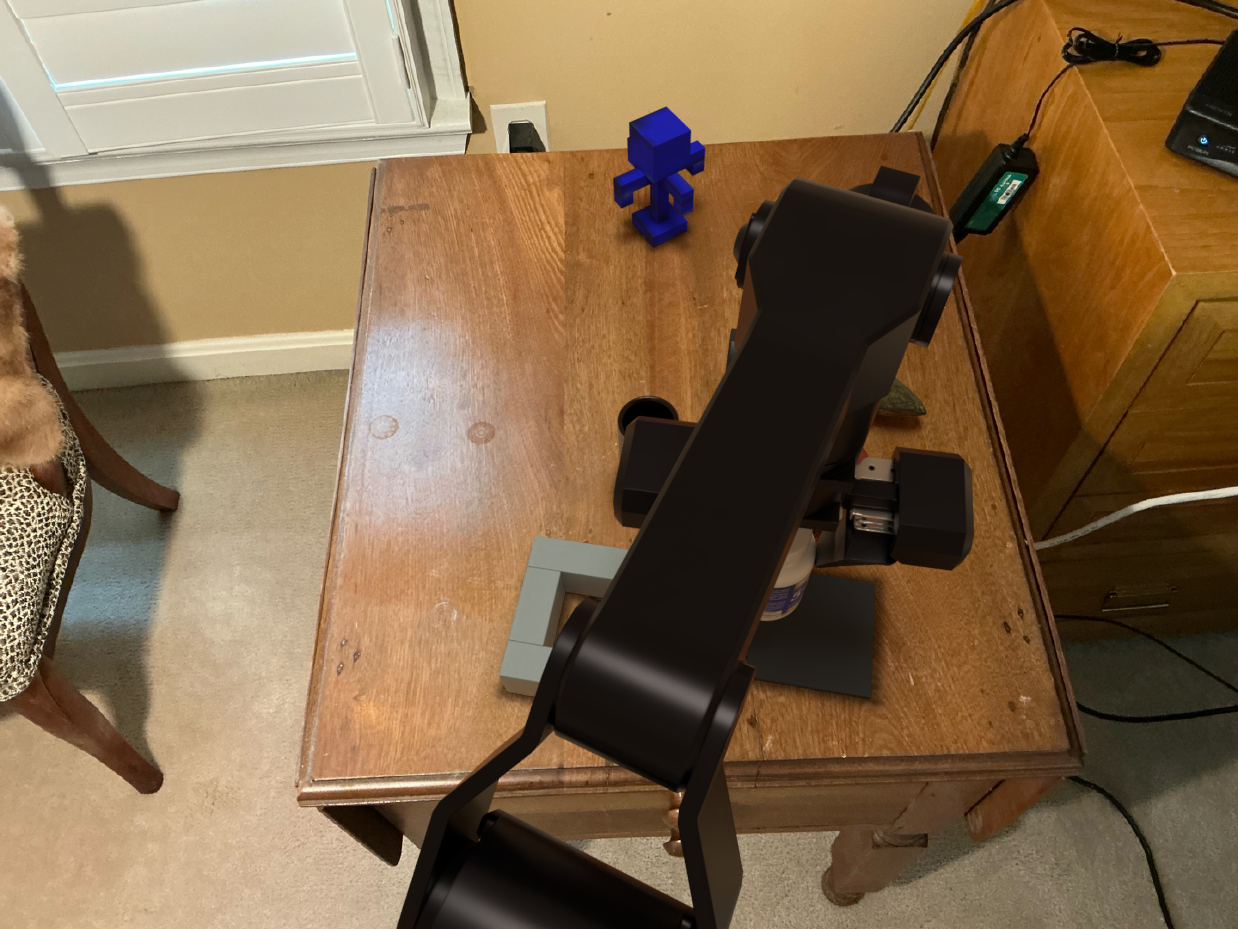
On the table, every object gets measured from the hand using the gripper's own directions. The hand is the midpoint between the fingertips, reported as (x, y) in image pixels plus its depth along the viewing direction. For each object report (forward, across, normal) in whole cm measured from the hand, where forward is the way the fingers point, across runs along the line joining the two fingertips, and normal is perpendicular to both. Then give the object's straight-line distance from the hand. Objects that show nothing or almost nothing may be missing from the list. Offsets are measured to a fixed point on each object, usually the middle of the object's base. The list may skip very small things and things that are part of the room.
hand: (772, 554), depth 55 cm
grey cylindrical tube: (+13, +10, -11) cm, 20 cm away
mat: (+13, -4, 0) cm, 14 cm away
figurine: (+13, +13, -41) cm, 45 cm away
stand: (+13, +12, +2) cm, 18 cm away
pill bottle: (+5, 0, 0) cm, 5 cm away
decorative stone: (+13, -7, -22) cm, 27 cm away
